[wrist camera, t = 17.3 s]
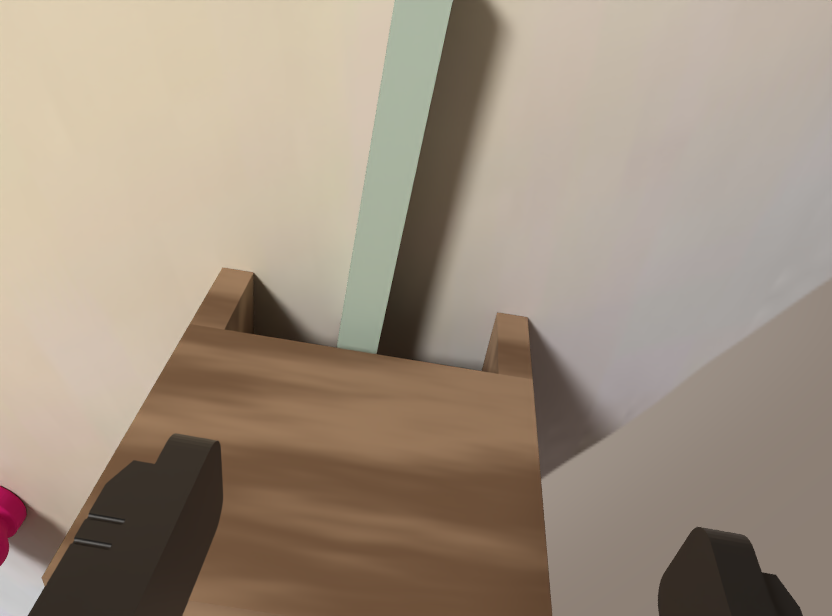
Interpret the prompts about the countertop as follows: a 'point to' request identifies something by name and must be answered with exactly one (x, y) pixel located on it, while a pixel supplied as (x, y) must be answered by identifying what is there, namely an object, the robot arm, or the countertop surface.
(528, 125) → the countertop surface
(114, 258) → the countertop surface
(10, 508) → the pepper mill
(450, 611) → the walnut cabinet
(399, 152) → the sage stick
